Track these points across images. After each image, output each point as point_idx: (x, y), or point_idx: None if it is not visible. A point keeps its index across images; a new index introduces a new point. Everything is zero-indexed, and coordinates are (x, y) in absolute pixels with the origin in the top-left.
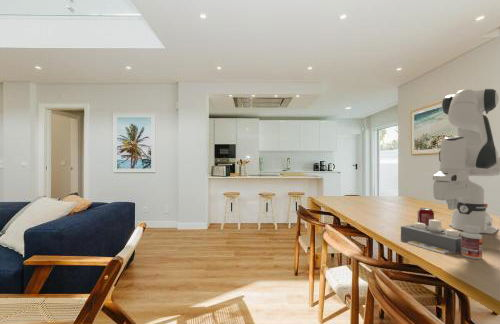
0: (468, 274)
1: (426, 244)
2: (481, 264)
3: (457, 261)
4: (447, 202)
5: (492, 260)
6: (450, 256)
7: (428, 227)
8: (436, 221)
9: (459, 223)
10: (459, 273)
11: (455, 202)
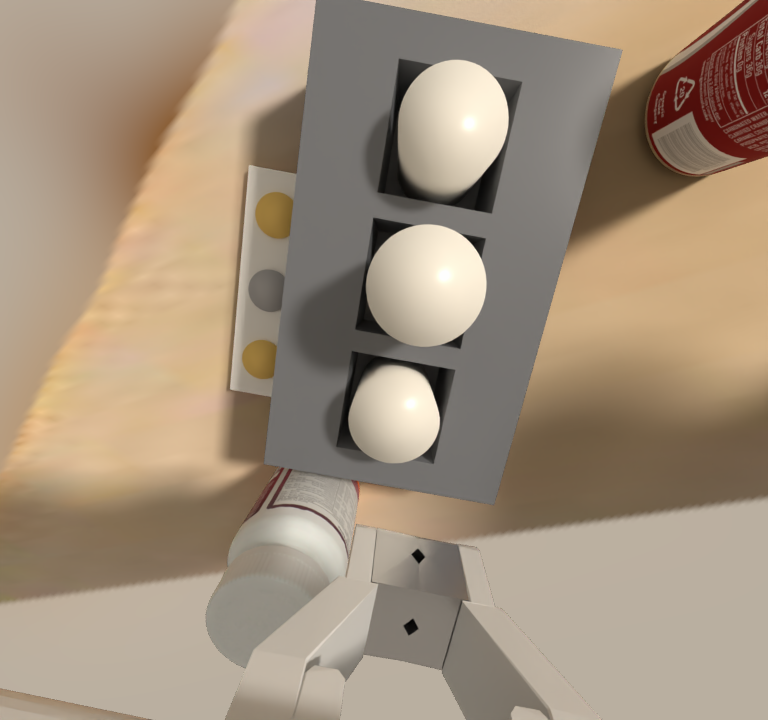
0: (55, 526)
1: None
2: (233, 531)
3: (177, 461)
4: (283, 633)
5: None
6: (225, 421)
7: (507, 200)
8: (385, 315)
9: None
10: (32, 504)
11: (487, 718)
